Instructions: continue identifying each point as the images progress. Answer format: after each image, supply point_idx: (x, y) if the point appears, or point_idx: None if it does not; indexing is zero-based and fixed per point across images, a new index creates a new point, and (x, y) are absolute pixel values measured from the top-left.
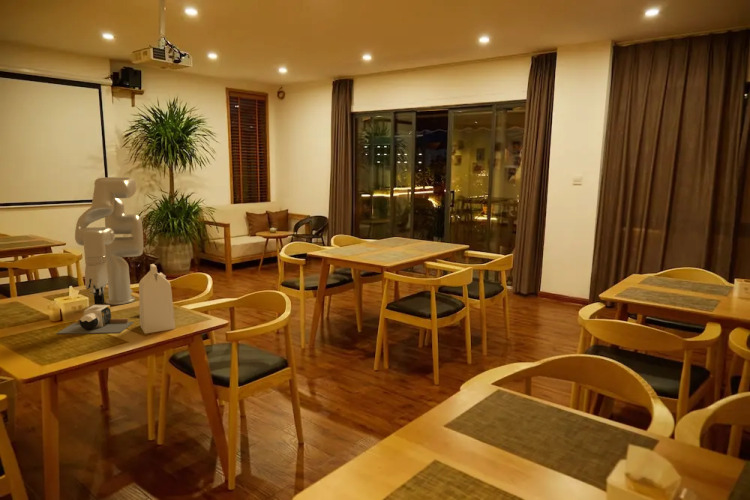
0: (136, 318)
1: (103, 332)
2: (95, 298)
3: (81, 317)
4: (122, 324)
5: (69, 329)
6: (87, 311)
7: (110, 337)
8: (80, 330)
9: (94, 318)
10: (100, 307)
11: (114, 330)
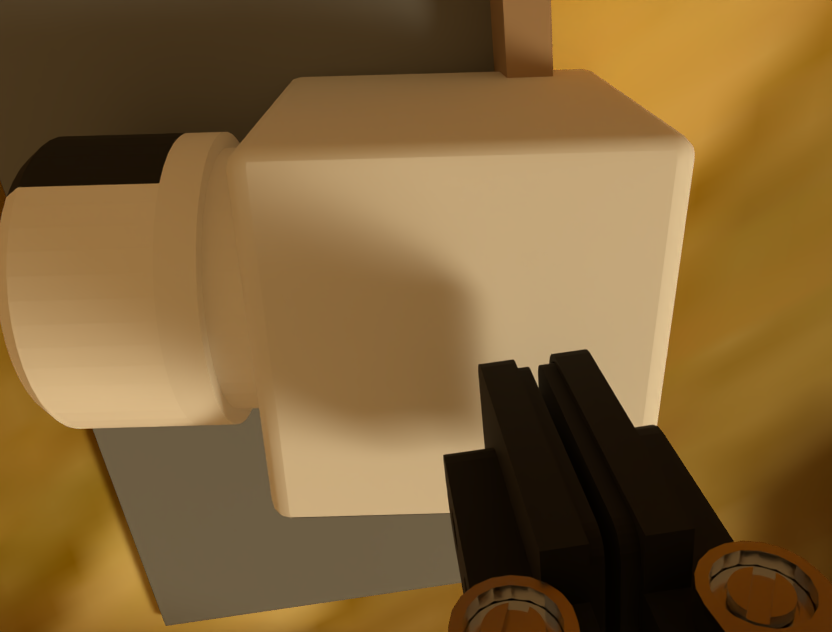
0: (743, 501)
1: (110, 474)
2: (460, 534)
3: (7, 233)
4: None
5: None
6: (238, 251)
7: (8, 605)
8: (102, 106)
9: (132, 426)
10: (477, 422)
11: (212, 547)
